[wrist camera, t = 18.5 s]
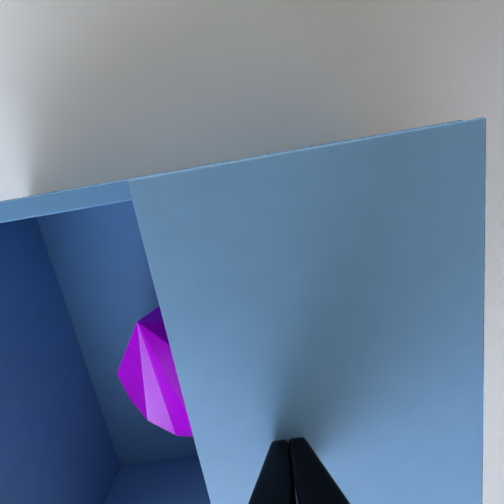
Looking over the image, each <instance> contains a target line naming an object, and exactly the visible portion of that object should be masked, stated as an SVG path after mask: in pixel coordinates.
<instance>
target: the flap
mask: <svg viewBox="0 0 504 504" xmlns="http://www.w3.org/2000/svg"><path fill="white" fill-rule="evenodd" d="M485 169H486V118H477V119H472V120H466V121H460V122H455V123H449V124H443V125H438V126H432V127H426V128H421V129H415V130H409V131H404V132H398V133H392V134H387V135H381V136H375V137H370V138H364V139H358V140H353V141H347V142H341V143H336V144H330V145H324V146H319V147H313V148H307V149H302V150H296V151H290V152H285V153H279V154H273V155H268V156H262V157H256V158H251V159H245V160H239V161H234V162H228V163H222V164H217V165H211V166H205V167H200V168H194V169H188V170H183V171H177V172H171V173H166V174H160V175H154V176H149V177H143V178H137V179H132V180H128V186H129V190H130V194H131V198H132V202H133V206H134V209H135V213H136V217H137V221H138V225H139V229H140V233H141V236H142V240H143V244H144V248H145V252H146V256H147V260H148V263H149V267H150V271H151V275H152V279H153V283H154V287H155V291H156V294H157V298H158V302H159V306H160V310H161V314H162V318H163V321H164V325H165V329H166V333H167V337H168V341H169V345H170V348H171V352H172V356H173V360H174V364H175V368H176V372H177V375H178V379H179V383H180V387H181V391H182V395H183V399H184V402H185V406H186V410H187V414H188V418H189V422H190V426H191V429H192V433H193V437H194V441H195V445H196V449H197V453H198V456H199V460H200V464H201V468H202V472H203V476H204V480H205V483H206V487H207V491H208V495H209V499H210V503H211V504H248V503H249V500H250V497H251V495H252V492H253V489H254V487H255V484H256V482H257V479H258V476H259V474H260V471H261V468H262V466H263V463H264V460H265V458H266V455H267V452H268V450H269V447H270V445H271V443H272V442H273V441H276V440H283V439H286V440H287V441H288V446H289V440H290V439H291V438H298V437H304V438H305V439H306V440H307V442H308V443H309V445H310V446H311V447H312V449H313V450H314V452H315V453H316V455H317V456H318V458H319V459H320V460H321V462H322V463H323V465H324V466H325V468H326V469H327V471H328V472H329V473H330V475H331V476H332V478H333V479H334V481H335V482H336V484H337V485H338V487H339V488H340V489H341V491H342V492H343V494H344V495H345V497H346V498H347V500H348V501H349V502H350V504H482V476H483V373H484V271H485ZM289 451H290V447H289ZM290 457H291V455H290ZM297 504H298V502H297Z"/></svg>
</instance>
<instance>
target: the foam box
mask: <svg viewBox="0 0 504 504" xmlns="http://www.w3.org/2000/svg"><path fill="white" fill-rule="evenodd" d="M460 121H462V120H459V121H453V122H447V123H442V124H436V125H430V126H425V127H419V128H413V129H408V130H402V131H396V132H391V133H385V134H379V135H374V136H368V137H362V138H357V139H351V140H345V141H340V142H334V143H328V144H323V145H317V146H311V147H306V148H300V149H294V150H289V151H283V152H277V153H272V154H266V155H260V156H255V157H249V158H243V159H238V160H232V161H226V162H221V163H215V164H209V165H204V166H198V167H192V168H187V169H181V170H175V171H170V172H164V173H158V174H153V175H147V176H141V177H136V178H130V179H124V180H119V181H113V182H107V183H102V184H96V185H90V186H85V187H79V188H73V189H68V190H62V191H56V192H51V193H45V194H39V195H34V196H28V197H22V198H17V199H11V200H5V201H0V504H211V503H210V499H209V495H208V491H207V487H206V483H205V480H204V476H203V472H202V468H201V464H200V460H199V456H198V453H197V449H196V445H195V441H194V437H186V436H177V435H174V434H172V433H171V432H169V431H167V430H165V429H163V428H161V427H159V426H157V425H155V424H154V423H152V422H150V421H148V420H147V419H146V418H145V417H144V415H143V414H142V413H141V412H140V411H139V409H138V408H137V407H136V406H135V405H134V403H133V402H132V401H131V400H130V399H129V397H128V395H127V393H126V391H125V389H124V387H123V385H122V383H121V381H120V379H119V377H118V375H117V372H118V369H119V366H120V364H121V361H122V359H123V356H124V354H125V351H126V349H127V346H128V343H129V341H130V338H131V336H132V333H133V331H134V328H135V325H136V323H137V321H139V320H140V319H141V318H143V317H144V316H146V315H147V314H149V313H150V312H152V311H153V310H154V309H156V308H157V307H159V302H158V298H157V294H156V291H155V287H154V283H153V279H152V275H151V271H150V267H149V263H148V260H147V256H146V252H145V248H144V244H143V240H142V236H141V233H140V229H139V225H138V221H137V217H136V213H135V209H134V206H133V202H132V198H131V194H130V190H129V186H128V180H132V179H137V178H143V177H149V176H154V175H160V174H166V173H171V172H177V171H183V170H188V169H194V168H200V167H205V166H211V165H217V164H222V163H228V162H234V161H239V160H245V159H251V158H256V157H262V156H268V155H273V154H279V153H285V152H290V151H296V150H302V149H307V148H313V147H319V146H324V145H330V144H336V143H341V142H347V141H353V140H358V139H364V138H370V137H375V136H381V135H387V134H392V133H398V132H404V131H409V130H415V129H421V128H426V127H432V126H438V125H443V124H449V123H455V122H460Z"/></svg>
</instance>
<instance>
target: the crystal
mask: <svg viewBox="0 0 504 504" xmlns="http://www.w3.org/2000/svg"><path fill="white" fill-rule="evenodd" d="M117 375H118V377H119V379H120V381H121V383H122V385H123V387H124V389H125V391H126V393H127V395H128V397H129V399H130V400H131V401H132V402H133V403H134V405H135V406H136V407H137V408H138V409H139V411H140V412H141V413H142V414H143V415H144V417H145V418H146V419H147V420H148V421H150V422H152V423H154V424H155V425H157V426H159V427H161V428H163V429H165V430H167V431H169V432H171V433H172V434H174V435H177V436H186V437H193V433H192V429H191V426H190V422H189V418H188V414H187V410H186V406H185V402H184V399H183V395H182V391H181V387H180V383H179V379H178V375H177V372H176V368H175V364H174V360H173V356H172V352H171V348H170V345H169V341H168V337H167V333H166V329H165V325H164V321H163V318H162V314H161V310H160V306H159V307H157V308H156V309H154V310H153V311H152V312H150V313H149V314H147V315H146V316H144V317H143V318H141V319H140V320H139V321H137V323H136V325H135V328H134V331H133V333H132V336H131V338H130V341H129V343H128V346H127V349H126V351H125V354H124V356H123V359H122V361H121V364H120V366H119V369H118V372H117Z"/></svg>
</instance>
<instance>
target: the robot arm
mask: <svg viewBox="0 0 504 504" xmlns="http://www.w3.org/2000/svg"><path fill="white" fill-rule="evenodd" d="M289 447H290V451H289ZM290 455H291V457H290ZM297 502H298V504H350V502H349V501H348V500H347V498H346V497H345V495H344V494H343V492H342V491H341V489H340V488H339V487H338V485H337V484H336V482H335V481H334V479H333V478H332V476H331V475H330V473H329V472H328V471H327V469H326V468H325V466H324V465H323V463H322V462H321V460H320V459H319V458H318V456H317V455H316V453H315V452H314V450H313V449H312V447H311V446H310V445H309V443H308V442H307V440H306V439H305V438H304V437H298V438H291V439H290V440H289V446H288V441H287V440H286V439H283V440H276V441H273V442H272V443H271V445H270V447H269V450H268V452H267V455H266V458H265V460H264V463H263V466H262V468H261V471H260V474H259V476H258V479H257V482H256V484H255V487H254V489H253V492H252V495H251V497H250V500H249V503H248V504H297Z"/></svg>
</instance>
